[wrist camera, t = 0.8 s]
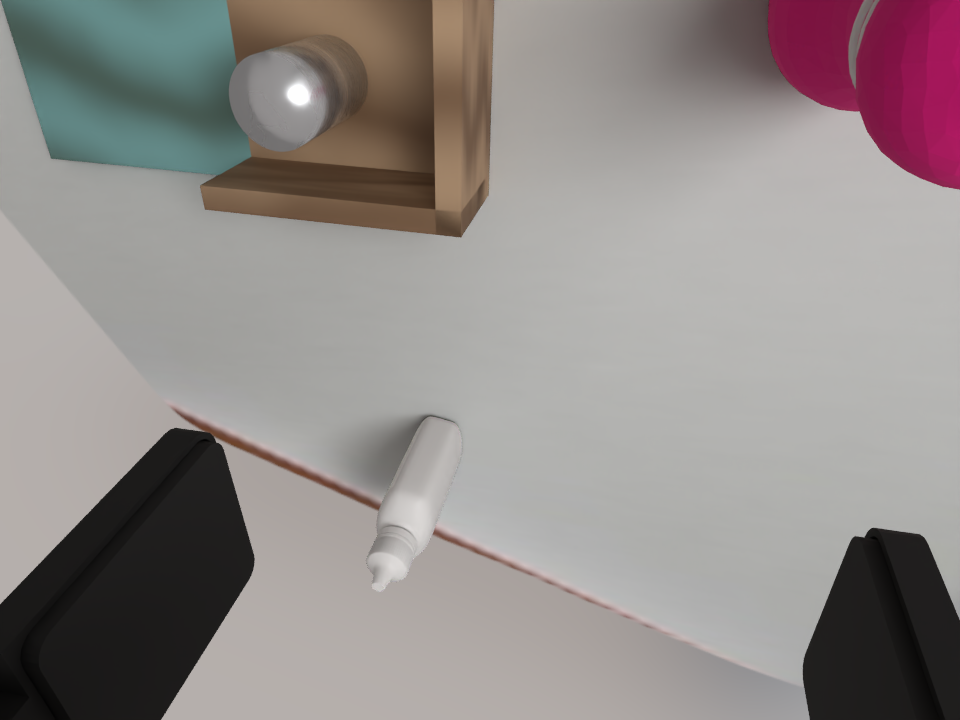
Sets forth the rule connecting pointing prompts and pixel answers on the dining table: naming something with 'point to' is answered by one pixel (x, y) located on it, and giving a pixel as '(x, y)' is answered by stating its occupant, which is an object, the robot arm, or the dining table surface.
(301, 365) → the dining table surface
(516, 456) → the dining table surface
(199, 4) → the cubby
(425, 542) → the eye dropper bottle
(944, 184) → the pepper mill
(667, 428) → the dining table surface
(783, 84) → the dining table surface
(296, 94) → the steel peg
